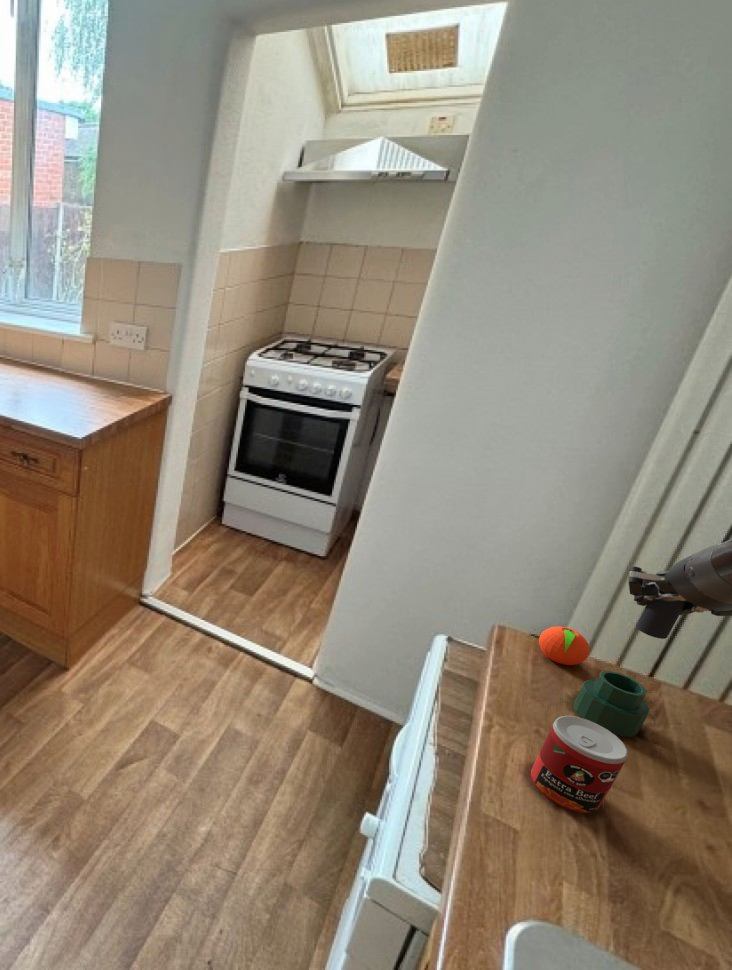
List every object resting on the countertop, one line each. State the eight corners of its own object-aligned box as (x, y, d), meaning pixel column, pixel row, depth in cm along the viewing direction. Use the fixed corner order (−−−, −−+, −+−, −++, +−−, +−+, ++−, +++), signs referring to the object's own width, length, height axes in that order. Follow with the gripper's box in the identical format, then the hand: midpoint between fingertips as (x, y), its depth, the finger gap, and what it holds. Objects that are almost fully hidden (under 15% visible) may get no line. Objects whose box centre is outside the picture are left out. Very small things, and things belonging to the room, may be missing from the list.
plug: (668, 632, 92) (691, 589, 90) (666, 642, 90) (690, 598, 88) (637, 621, 95) (659, 579, 92) (634, 630, 93) (656, 587, 90)
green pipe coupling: (639, 722, 101) (659, 685, 98) (633, 746, 96) (654, 709, 93) (577, 694, 106) (594, 659, 103) (568, 716, 102) (586, 679, 99)
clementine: (581, 682, 109) (596, 651, 107) (531, 663, 114) (545, 633, 111) (581, 659, 115) (596, 629, 112) (534, 642, 119) (547, 613, 116)
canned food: (526, 792, 89) (552, 737, 84) (531, 759, 94) (556, 706, 90) (597, 828, 84) (629, 771, 79) (598, 791, 89) (628, 736, 85)
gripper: (810, 566, 76) (724, 596, 90) (655, 534, 84) (598, 566, 98) (810, 622, 74) (723, 644, 88) (651, 584, 81) (593, 610, 95)
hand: (657, 603), depth 93 cm, fingers closed on plug, 3 cm apart
